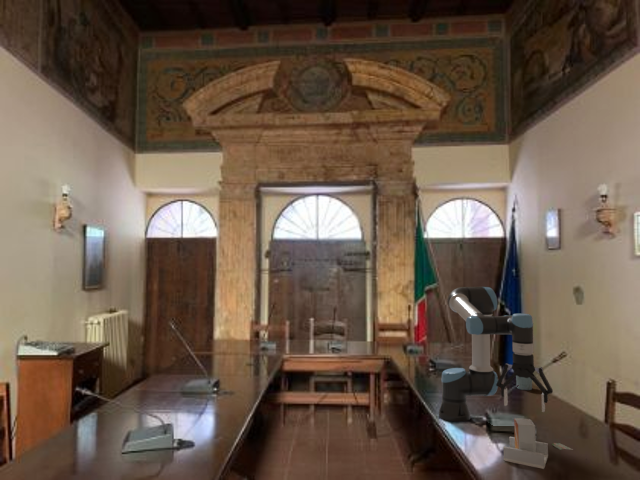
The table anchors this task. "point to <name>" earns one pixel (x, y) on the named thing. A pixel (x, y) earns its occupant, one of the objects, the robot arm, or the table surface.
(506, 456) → the end holder
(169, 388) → the table surface
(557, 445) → the map
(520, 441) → the small box
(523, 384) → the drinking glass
